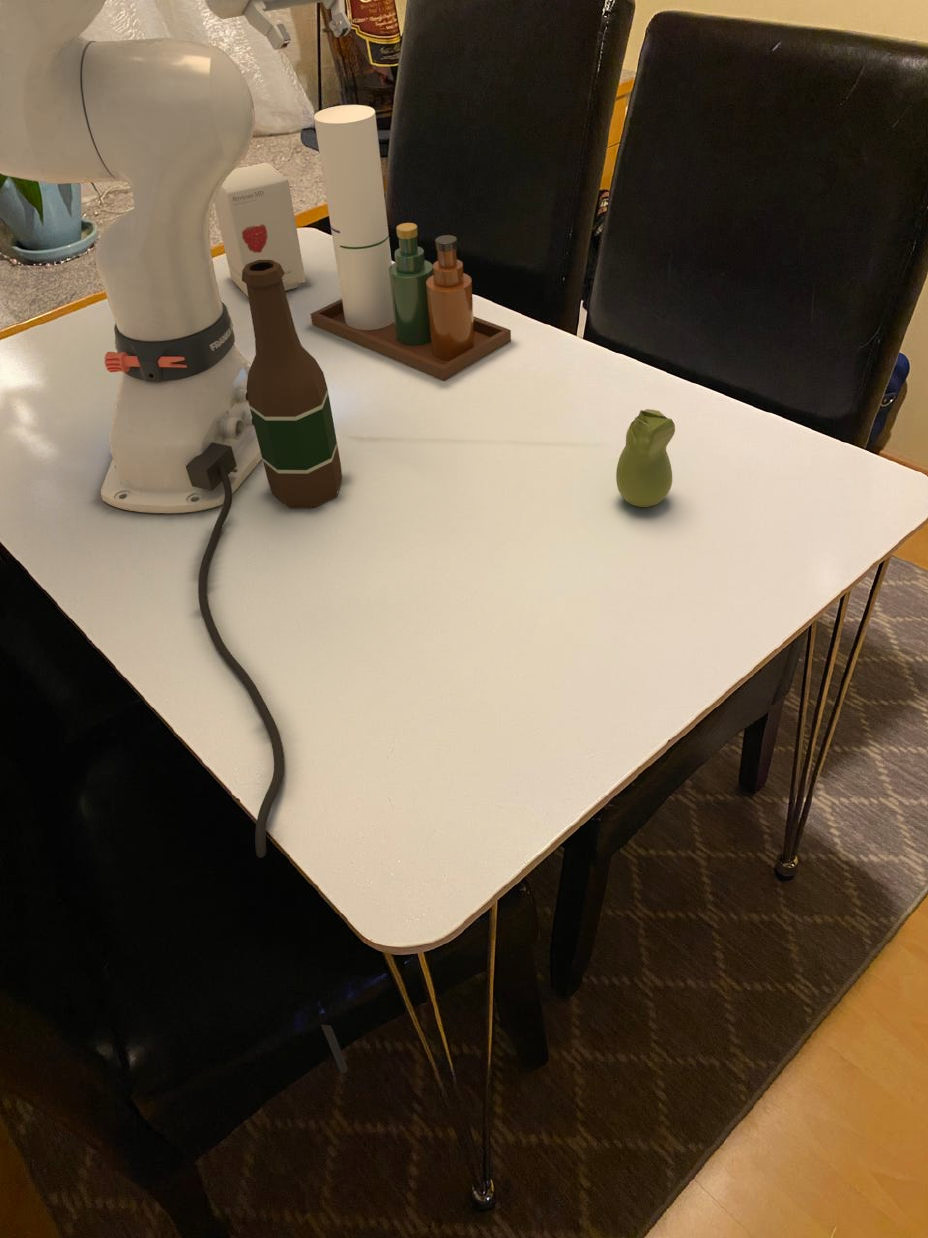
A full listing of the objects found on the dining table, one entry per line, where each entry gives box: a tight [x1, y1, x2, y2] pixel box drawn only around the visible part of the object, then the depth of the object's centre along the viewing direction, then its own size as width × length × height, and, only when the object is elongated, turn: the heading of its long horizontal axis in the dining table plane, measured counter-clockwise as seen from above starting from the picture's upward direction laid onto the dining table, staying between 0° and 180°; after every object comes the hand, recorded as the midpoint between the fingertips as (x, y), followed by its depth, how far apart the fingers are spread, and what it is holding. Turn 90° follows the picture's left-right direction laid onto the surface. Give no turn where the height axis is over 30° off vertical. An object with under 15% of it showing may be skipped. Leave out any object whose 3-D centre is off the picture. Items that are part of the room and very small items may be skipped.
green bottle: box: [389, 222, 433, 346], centre depth 113 cm, size 6×6×14 cm
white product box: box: [213, 161, 307, 299], centre depth 128 cm, size 9×9×15 cm
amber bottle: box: [426, 234, 475, 361], centre depth 109 cm, size 6×6×14 cm
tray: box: [310, 298, 512, 382], centre depth 118 cm, size 25×13×2 cm, turn 47°
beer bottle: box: [242, 260, 343, 509], centre depth 87 cm, size 8×8×24 cm
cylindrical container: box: [313, 104, 394, 330], centre depth 113 cm, size 7×7×25 cm
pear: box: [615, 408, 676, 508], centre depth 87 cm, size 6×5×10 cm
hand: (314, 39), depth 101 cm, fingers open, 8 cm apart
